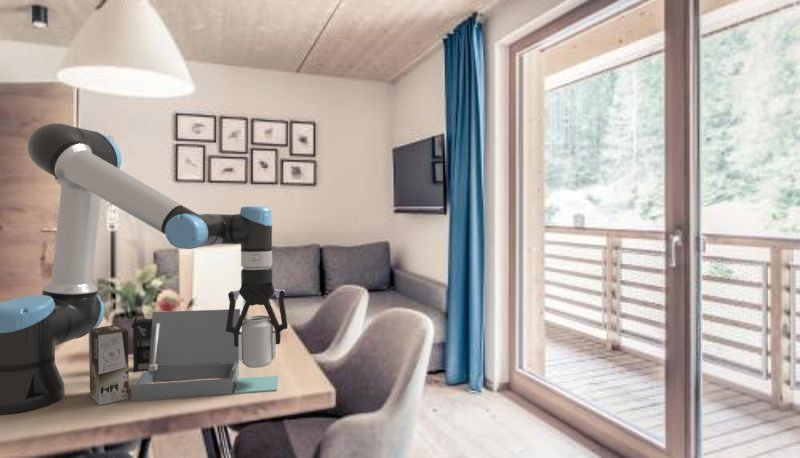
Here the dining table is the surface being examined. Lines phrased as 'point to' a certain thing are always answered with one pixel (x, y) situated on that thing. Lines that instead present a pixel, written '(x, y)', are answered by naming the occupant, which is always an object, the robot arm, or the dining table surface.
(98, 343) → the coffee box
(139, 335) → the geiger counter
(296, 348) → the dining table surface
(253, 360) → the can
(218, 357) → the case
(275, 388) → the pad
